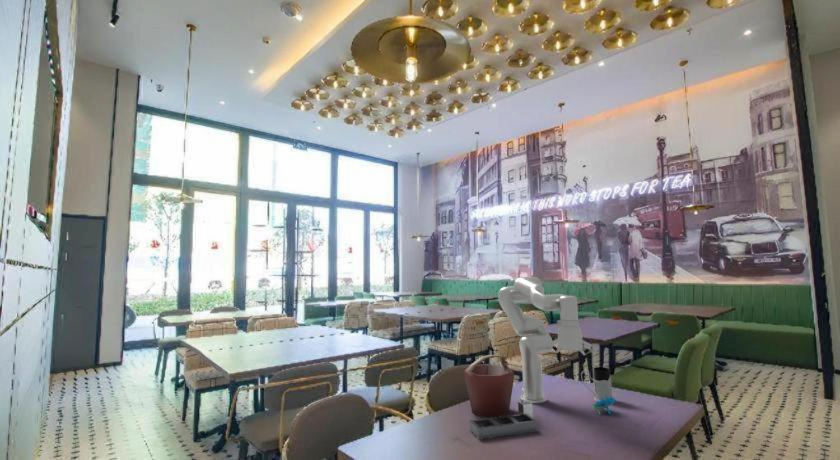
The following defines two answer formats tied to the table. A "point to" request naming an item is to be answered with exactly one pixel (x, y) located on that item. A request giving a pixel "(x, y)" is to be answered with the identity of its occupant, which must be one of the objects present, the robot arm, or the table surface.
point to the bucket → (489, 387)
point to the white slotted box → (525, 408)
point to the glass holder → (601, 383)
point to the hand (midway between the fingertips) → (571, 362)
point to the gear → (604, 404)
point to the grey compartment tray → (503, 425)
